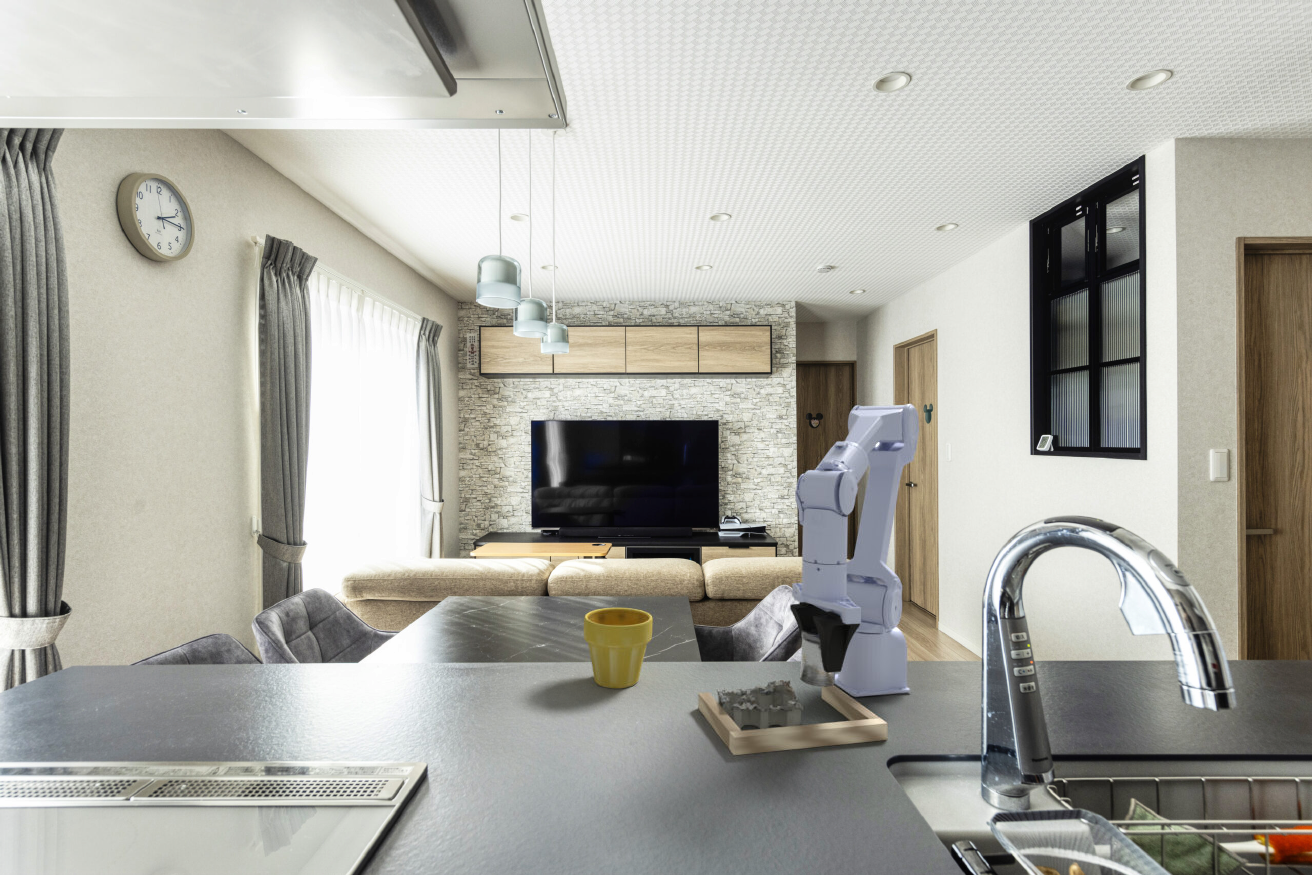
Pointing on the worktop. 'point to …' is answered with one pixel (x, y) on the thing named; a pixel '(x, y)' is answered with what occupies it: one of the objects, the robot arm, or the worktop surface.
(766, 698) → the egg carton
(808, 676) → the jar with metallic lid
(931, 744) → the worktop surface
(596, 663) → the plant pot
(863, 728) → the beech bay
